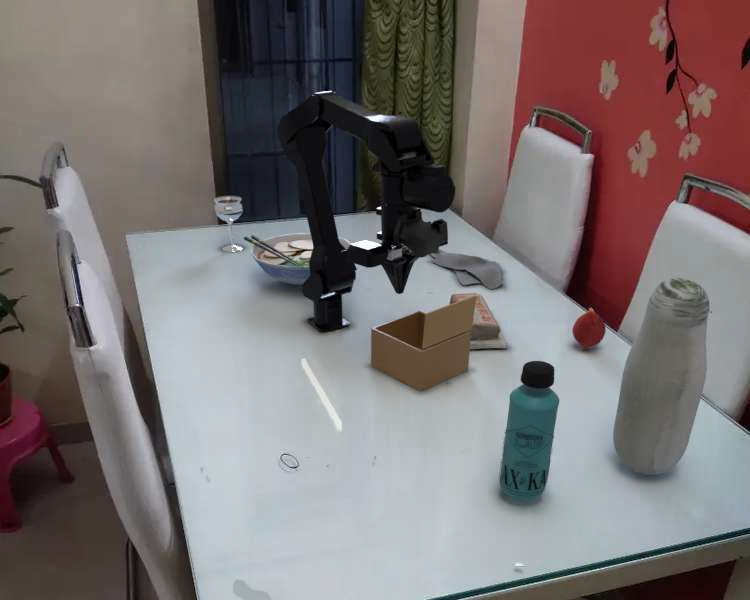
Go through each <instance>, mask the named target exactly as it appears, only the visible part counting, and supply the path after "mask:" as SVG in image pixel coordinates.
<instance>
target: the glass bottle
mask: <svg viewBox="0 0 750 600" xmlns="http://www.w3.org/2000/svg"><path fill="white" fill-rule="evenodd" d="M709 313H710V299H709V296H708V294H707V292H706V290H705V289H704V287H702V286H701V285H700V284H699V283H697V282H694V281H692V280H689V279H686V278H683V277H673V278H669V279H666V280H664V281H662V282H660V283H659V284H657V285H656V287H655V288H654V290H653V291H652V292H651V294H650V297H649V298H648V302H647V305H646V309H645V313H644V315H643V316H644V317H643V320H642V323H641V326H640V328H639V330H638V333H637V334H636V337H635V339H634V340H633V342H632V345H631V347H630V349H629V351H628V355H627V357H626V360H625V363H624V367H623V371H622V377H621V383H620V390H619V395H618V402H617V409H616V412H615V413H616V414H615V419H614V423H613V424H614V425H613V432H612V439H613V442H612V443H613V447H614V450H615V453H616V455H617V457H618V458H619V460H620V461H621V463H622V464H624V465H625V467H627V468H628V469H630V470H632V471H634V472H636V473H638V474H641V475H644V476H646V475H647V476H656V475H660V474H664V473H667V472H669V471H672V469H674V468H675V467H676V466H677V464H678V463H679V462H680V461H681V459H682V458H683V456H684V454H685V452H686V450H687V448H688V445H689V442H690V439H691V435H692V431H693V427H694V423H695V421H696V417H697V412H698V409H699V405H700V402H701V399H702V394H703V391H704V386H705V382H706V378H707V365H708V359H707V358H708V357H707V356H708V355H707V331H708V330H707V327H708V317H709Z"/></svg>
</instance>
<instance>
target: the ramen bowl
mask: <svg viewBox="0 0 750 600" xmlns="http://www.w3.org/2000/svg"><path fill="white" fill-rule="evenodd" d="M338 238H339V242H340V243H341V244H342V245H343V246H344V248H345V249H346V250H347V248H348V247H349V246H350V244H352V243H351V242H350V241H349V240H347V239H345V238H342V237H339V236H338ZM243 240H244V241H246V242H248V243H250V244H251V245H252V247H251V250H250V254H251V256H252V258H253V259H254V261H255V262H256V263H257V264H258V265H259V267H260V268H261V269H262V271H263V272H264V273H266V275H267V276H268V277H270V278H272V279H274V280H277V281H279V282H281V283H285V284H289V285H292V286H296V287H301V285H302V284H303V283H304V282H305V281H306V280H307V278H308V277H309V276H310V269H309V261H310V257H311V254H312V250H313V242H312V238H311V233H310V232H299V233H297V232H296V233H287V234H280V235H274V236H272V237H269V238H265V239H261V238H259V237H258V236H256V235H254V234H253V235H252V234H251V235H250V237H248V236H243Z"/></svg>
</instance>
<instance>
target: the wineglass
mask: <svg viewBox="0 0 750 600" xmlns="http://www.w3.org/2000/svg"><path fill="white" fill-rule="evenodd" d="M213 202H214V203H215V204H214V212H215V214H216V216H217V217H218V218H219V219H220V220H222V221H225V222H226V223H227V224H228V230H229V236H230V245H226V246H224V247H222V251H224V252H228V253H229V252H231V253H232V252H233V253H235V252H239V251H242V250H243V249H244V248H243V246H241V245H239V244H234V238H233V237H234V236H233V223H234V221H237V220H238V219H239V218H240V217H241V215H242V214H243V211H244V209H243V208H244V207H243V204H242V203H241V202H242V197H240V196H237V195H236V196H235V195H223V196H218V197H215V198H214V199H213Z"/></svg>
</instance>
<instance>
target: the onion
mask: <svg viewBox="0 0 750 600" xmlns="http://www.w3.org/2000/svg"><path fill="white" fill-rule="evenodd" d="M605 324H606V323H605V322H604V320H603V318H602V317H601V316H600V315H599V314H597V312H596V311H595V310H594V309H593V308H592V307H589V308H588V310H587V312H586V313H583V314H582V315H580V316H579V317H578V318H577V319H576V320H575V322H574V324H573V326H572V336H573V338H574V340H575V341H576V342H577V343H578V345H580V347H581V348H582V349H584V350H588V349H590V348H593V347H595V346H597V345H599V344H600V343H601V342H602V340H604V337H605V335H606V325H605Z"/></svg>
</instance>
